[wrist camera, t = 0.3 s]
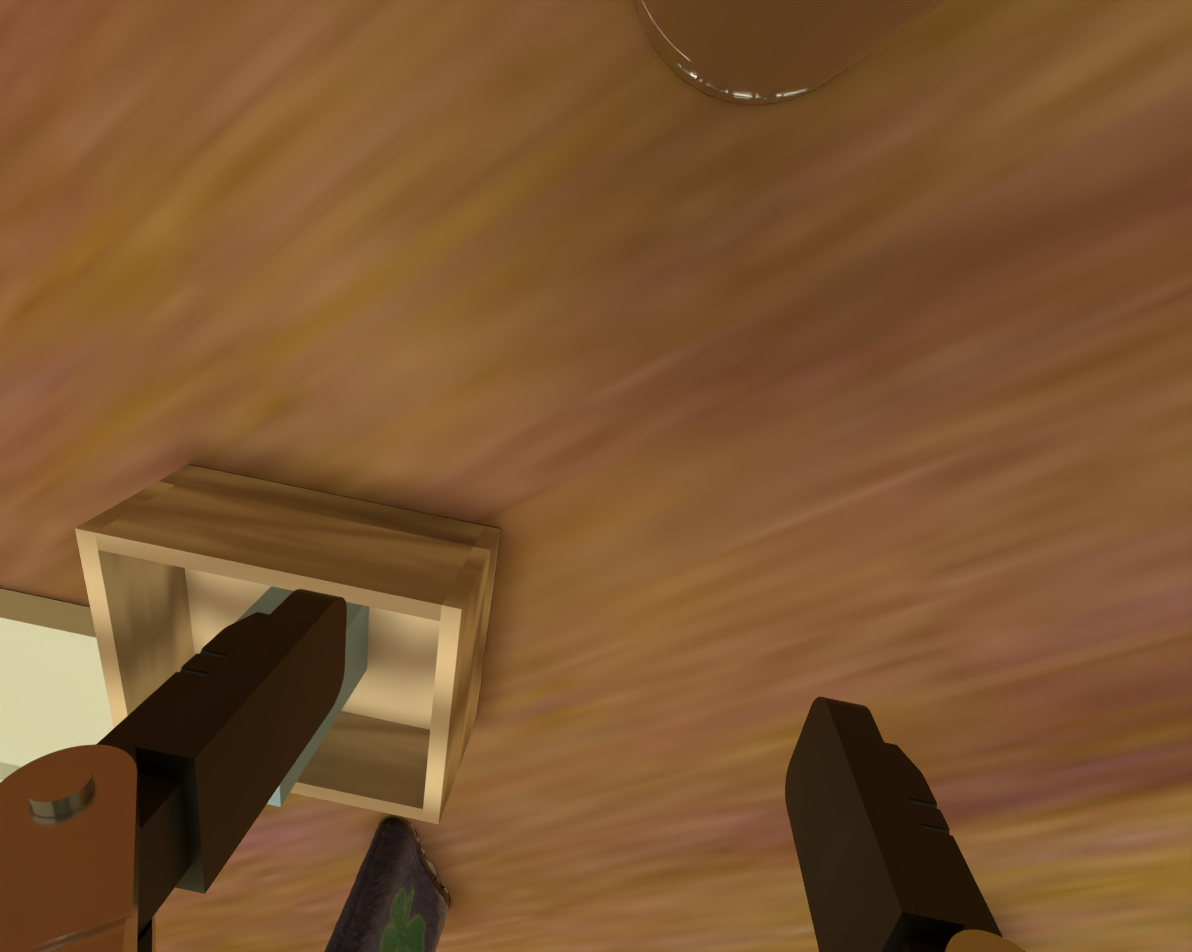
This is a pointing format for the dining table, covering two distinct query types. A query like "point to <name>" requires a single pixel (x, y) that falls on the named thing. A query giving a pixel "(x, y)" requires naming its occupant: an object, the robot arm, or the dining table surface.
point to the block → (352, 676)
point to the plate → (48, 679)
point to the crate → (316, 563)
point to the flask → (393, 897)
